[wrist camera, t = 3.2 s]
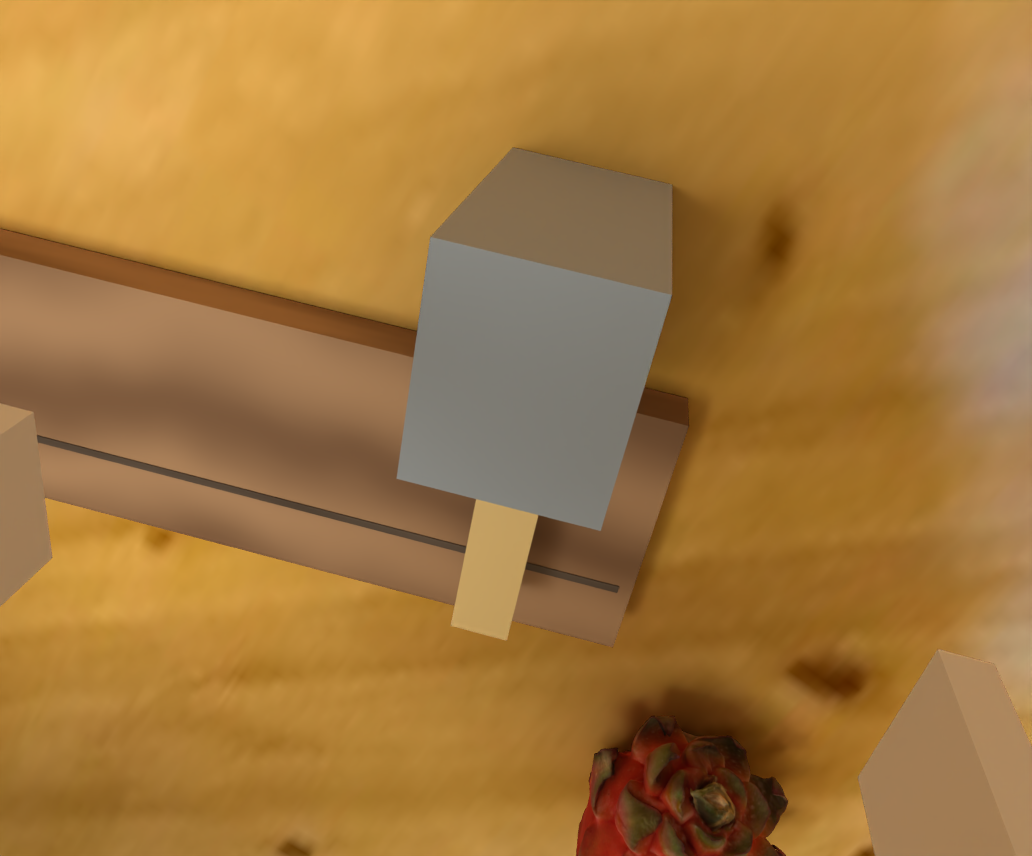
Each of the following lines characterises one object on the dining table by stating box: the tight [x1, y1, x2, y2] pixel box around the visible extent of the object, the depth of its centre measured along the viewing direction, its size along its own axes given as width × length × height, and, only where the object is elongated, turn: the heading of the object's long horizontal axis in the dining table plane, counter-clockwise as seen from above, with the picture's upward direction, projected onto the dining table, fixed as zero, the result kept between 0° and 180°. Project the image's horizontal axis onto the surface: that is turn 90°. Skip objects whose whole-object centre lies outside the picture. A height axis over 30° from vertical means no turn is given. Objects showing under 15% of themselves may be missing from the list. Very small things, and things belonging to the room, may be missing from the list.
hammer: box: [397, 148, 672, 641], centre depth 25 cm, size 15×5×10 cm, turn 169°
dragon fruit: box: [576, 716, 788, 856], centre depth 34 cm, size 8×8×12 cm
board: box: [0, 229, 689, 647], centre depth 31 cm, size 10×26×2 cm, turn 79°
